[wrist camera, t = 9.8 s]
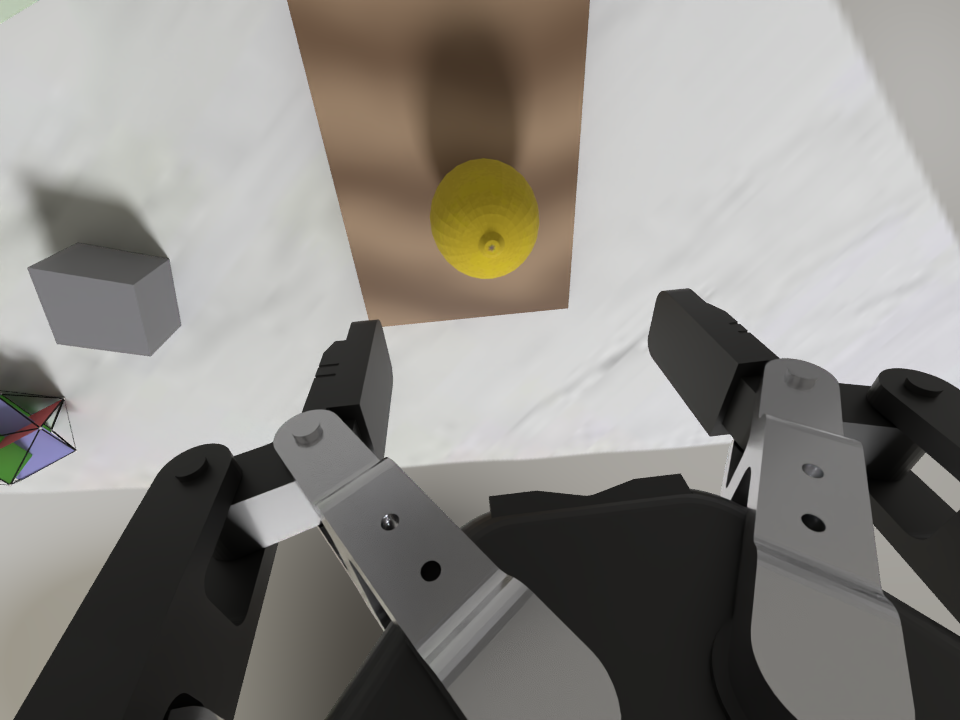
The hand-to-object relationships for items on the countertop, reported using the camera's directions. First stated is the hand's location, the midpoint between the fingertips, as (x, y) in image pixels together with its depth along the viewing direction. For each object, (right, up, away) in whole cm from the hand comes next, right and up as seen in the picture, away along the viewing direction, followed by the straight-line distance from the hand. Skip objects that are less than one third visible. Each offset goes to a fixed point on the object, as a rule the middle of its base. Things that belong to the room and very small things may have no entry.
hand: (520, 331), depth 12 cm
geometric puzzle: (-36, -4, +20) cm, 41 cm away
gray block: (-24, +4, +15) cm, 29 cm away
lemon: (-1, +9, +12) cm, 15 cm away
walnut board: (-3, +10, +13) cm, 17 cm away
